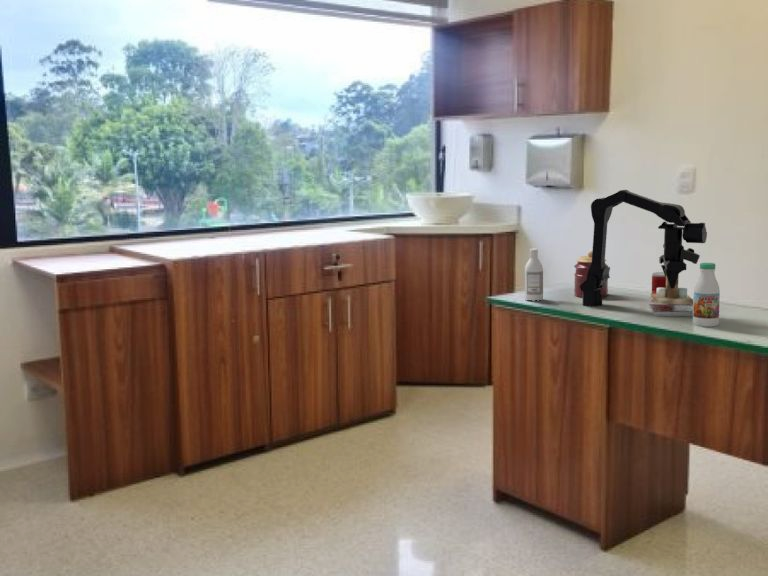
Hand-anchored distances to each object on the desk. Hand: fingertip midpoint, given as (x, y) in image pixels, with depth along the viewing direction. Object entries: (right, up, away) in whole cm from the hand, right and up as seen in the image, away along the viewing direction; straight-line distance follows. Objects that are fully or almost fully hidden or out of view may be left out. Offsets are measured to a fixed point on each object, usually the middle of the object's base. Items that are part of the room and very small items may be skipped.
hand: (671, 287), depth 264 cm
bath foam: (-40, -5, +35) cm, 54 cm away
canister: (-17, -3, +40) cm, 44 cm away
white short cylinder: (-3, -3, +1) cm, 5 cm away
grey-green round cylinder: (+4, -3, 0) cm, 5 cm away
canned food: (+5, -6, +21) cm, 22 cm away
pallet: (0, -5, +1) cm, 5 cm away
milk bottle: (+5, -12, -17) cm, 21 cm away
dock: (0, -9, +1) cm, 9 cm away
